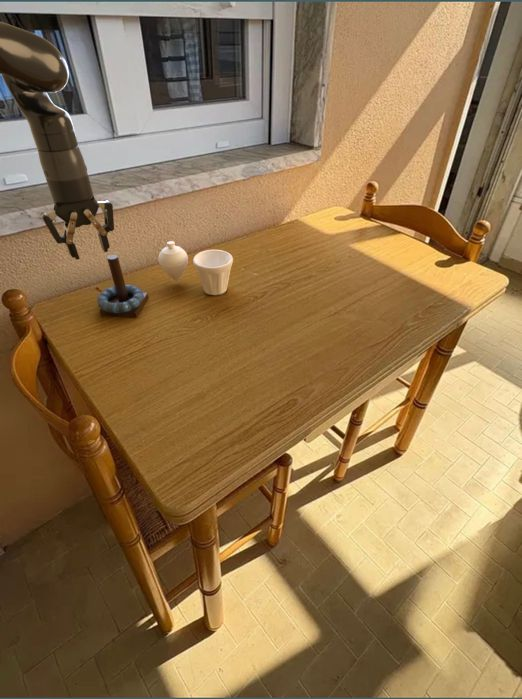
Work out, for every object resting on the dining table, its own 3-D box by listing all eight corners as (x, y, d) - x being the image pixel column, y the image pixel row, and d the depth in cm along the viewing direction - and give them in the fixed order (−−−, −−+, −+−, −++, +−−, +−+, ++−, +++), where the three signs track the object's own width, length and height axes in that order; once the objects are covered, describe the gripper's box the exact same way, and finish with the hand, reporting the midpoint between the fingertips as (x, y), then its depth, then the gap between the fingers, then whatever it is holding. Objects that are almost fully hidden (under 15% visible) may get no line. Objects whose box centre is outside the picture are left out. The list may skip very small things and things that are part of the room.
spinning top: (182, 273, 108) (176, 233, 100) (196, 284, 103) (191, 243, 96) (157, 282, 104) (149, 241, 96) (171, 294, 100) (164, 252, 92)
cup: (190, 296, 99) (186, 264, 93) (205, 277, 106) (202, 247, 100) (226, 303, 97) (224, 270, 91) (239, 283, 104) (238, 252, 98)
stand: (100, 315, 92) (84, 265, 84) (115, 295, 99) (101, 247, 90) (136, 317, 92) (124, 267, 83) (148, 297, 99) (138, 249, 90)
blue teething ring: (91, 313, 91) (88, 304, 89) (110, 289, 99) (107, 281, 97) (134, 316, 90) (132, 308, 88) (150, 292, 98) (148, 284, 96)
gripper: (97, 162, 78) (117, 240, 89) (21, 174, 72) (52, 256, 83) (110, 171, 73) (129, 252, 84) (29, 185, 67) (61, 270, 78)
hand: (91, 254), depth 83 cm, fingers open, 5 cm apart
